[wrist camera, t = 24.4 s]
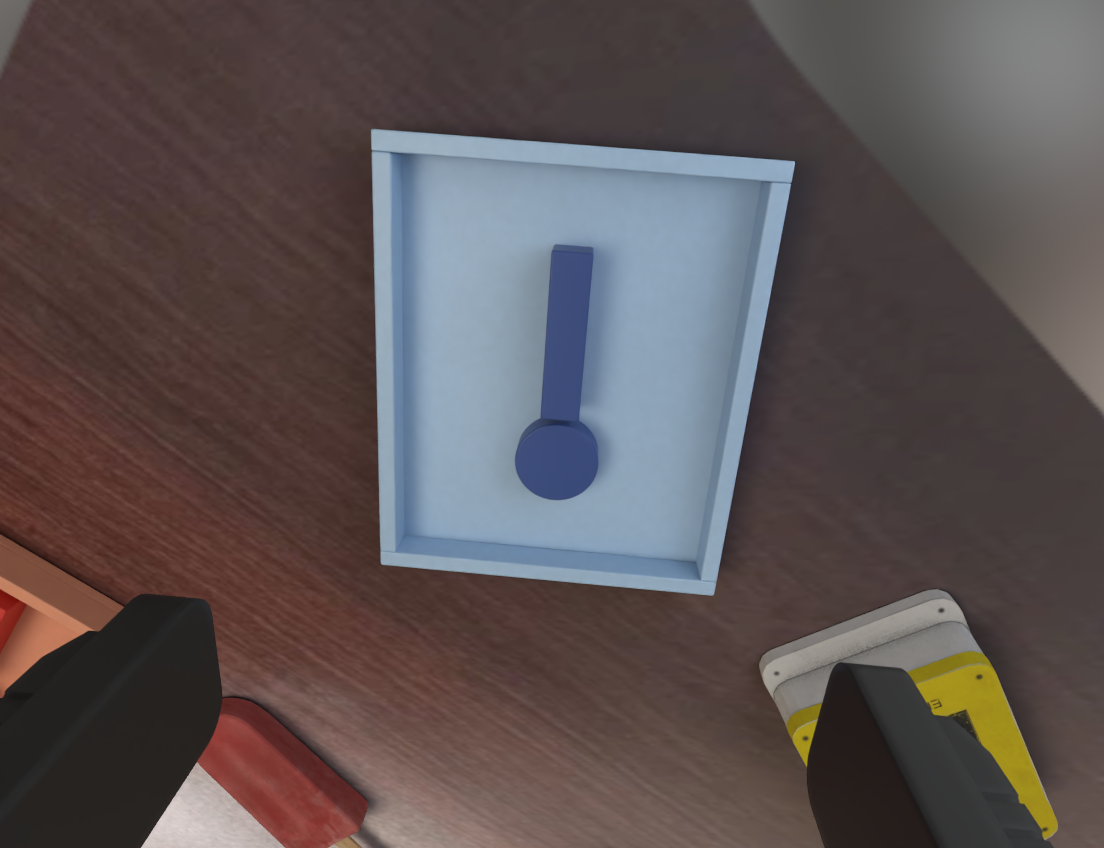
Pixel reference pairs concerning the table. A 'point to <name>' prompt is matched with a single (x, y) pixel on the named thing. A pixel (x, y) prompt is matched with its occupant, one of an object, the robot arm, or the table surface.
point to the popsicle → (281, 780)
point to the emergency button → (933, 664)
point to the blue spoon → (562, 387)
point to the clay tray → (45, 609)
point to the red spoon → (8, 615)
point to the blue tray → (610, 354)
